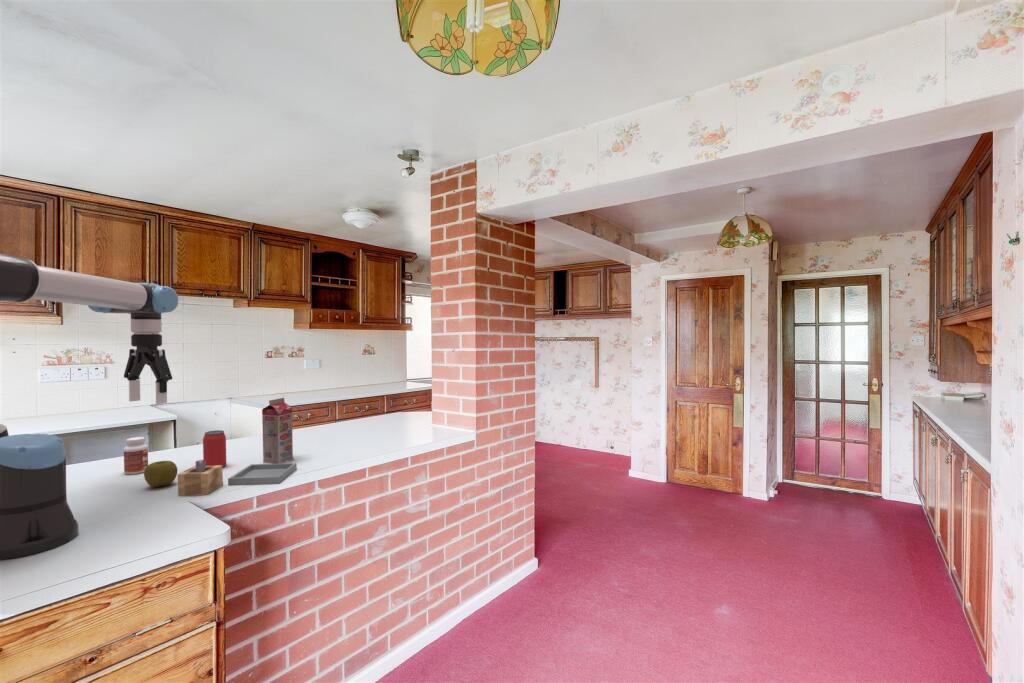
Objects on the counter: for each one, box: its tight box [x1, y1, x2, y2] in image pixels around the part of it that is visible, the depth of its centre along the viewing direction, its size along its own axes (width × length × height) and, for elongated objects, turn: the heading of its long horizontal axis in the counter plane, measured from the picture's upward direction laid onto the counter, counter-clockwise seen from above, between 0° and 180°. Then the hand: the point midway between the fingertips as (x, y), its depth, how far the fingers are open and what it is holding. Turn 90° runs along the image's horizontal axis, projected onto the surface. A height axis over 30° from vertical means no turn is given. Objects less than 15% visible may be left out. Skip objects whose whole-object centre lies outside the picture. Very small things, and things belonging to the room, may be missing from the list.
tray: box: [227, 462, 298, 486], centre depth 149 cm, size 15×15×2 cm
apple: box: [143, 460, 178, 488], centre depth 140 cm, size 8×8×7 cm
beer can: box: [202, 429, 227, 468], centre depth 159 cm, size 7×7×12 cm
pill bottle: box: [123, 436, 149, 475], centre depth 154 cm, size 6×6×11 cm
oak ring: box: [177, 465, 224, 496], centre depth 136 cm, size 8×8×6 cm
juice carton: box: [261, 397, 294, 464], centre depth 166 cm, size 7×7×22 cm
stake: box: [195, 459, 206, 472], centre depth 136 cm, size 2×2×8 cm
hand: (147, 402), depth 145 cm, fingers open, 13 cm apart
